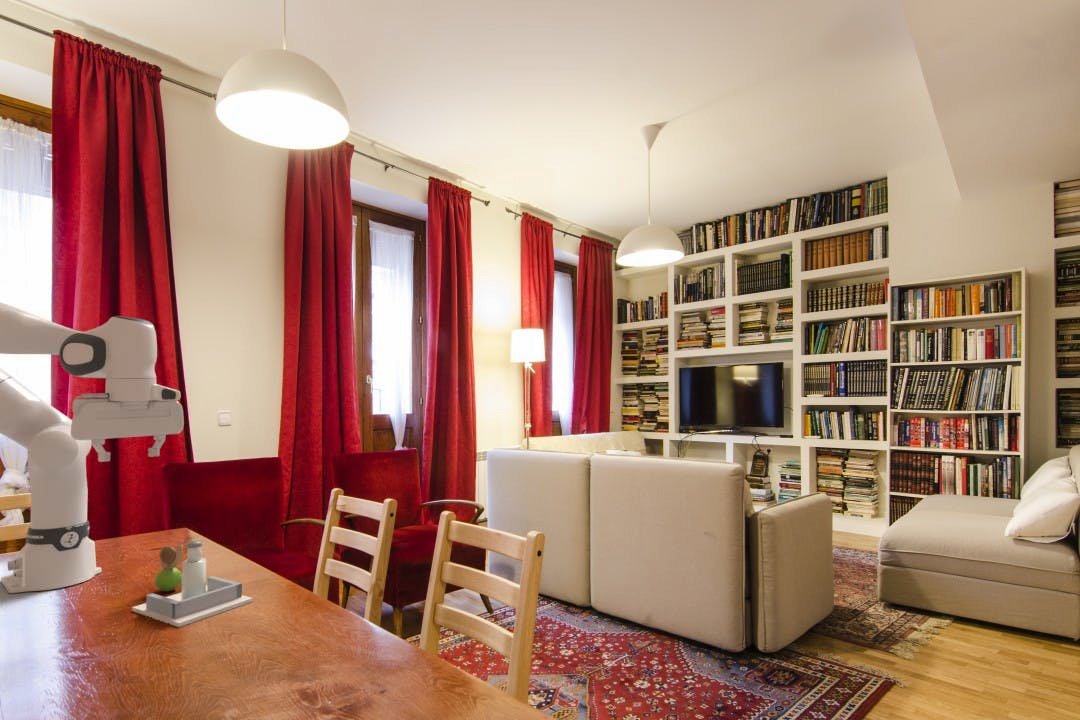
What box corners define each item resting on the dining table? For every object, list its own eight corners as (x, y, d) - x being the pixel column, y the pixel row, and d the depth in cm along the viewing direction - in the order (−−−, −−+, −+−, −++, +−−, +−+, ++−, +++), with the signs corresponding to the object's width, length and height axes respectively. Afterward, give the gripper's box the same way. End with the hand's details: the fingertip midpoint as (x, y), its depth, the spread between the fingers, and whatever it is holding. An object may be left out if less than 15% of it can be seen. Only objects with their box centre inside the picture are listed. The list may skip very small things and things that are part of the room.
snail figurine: (172, 595, 136) (173, 543, 136) (148, 594, 137) (150, 542, 138) (190, 587, 141) (191, 537, 142) (167, 586, 142) (168, 536, 143)
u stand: (132, 610, 127) (132, 593, 127) (205, 588, 141) (206, 572, 141) (178, 627, 118) (179, 607, 118) (252, 601, 132) (252, 584, 132)
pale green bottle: (176, 604, 128) (177, 543, 129) (198, 597, 132) (198, 538, 133) (188, 607, 126) (189, 546, 127) (210, 601, 130) (210, 541, 131)
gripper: (80, 393, 114) (78, 465, 113) (188, 392, 131) (187, 454, 131) (65, 393, 117) (63, 463, 116) (172, 392, 135) (171, 453, 134)
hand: (129, 458), depth 124 cm, fingers open, 8 cm apart
